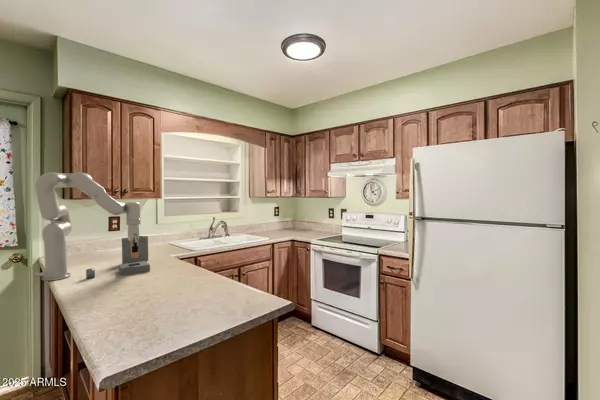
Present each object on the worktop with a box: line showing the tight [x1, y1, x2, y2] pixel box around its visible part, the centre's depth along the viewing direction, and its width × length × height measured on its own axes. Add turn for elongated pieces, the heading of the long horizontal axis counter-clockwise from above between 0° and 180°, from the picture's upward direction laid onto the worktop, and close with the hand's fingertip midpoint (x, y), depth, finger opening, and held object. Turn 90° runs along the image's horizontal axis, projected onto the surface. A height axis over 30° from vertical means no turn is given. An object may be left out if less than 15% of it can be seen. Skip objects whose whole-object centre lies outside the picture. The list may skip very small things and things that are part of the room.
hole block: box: [118, 261, 151, 276], centre depth 179 cm, size 15×12×4 cm
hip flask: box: [121, 235, 149, 264], centre depth 201 cm, size 16×4×20 cm, turn 127°
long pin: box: [130, 238, 138, 258], centre depth 178 cm, size 4×4×12 cm
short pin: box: [85, 267, 96, 280], centre depth 165 cm, size 4×4×5 cm
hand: (134, 251), depth 178 cm, fingers closed on long pin, 4 cm apart
